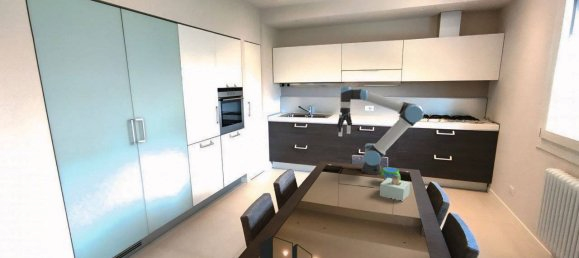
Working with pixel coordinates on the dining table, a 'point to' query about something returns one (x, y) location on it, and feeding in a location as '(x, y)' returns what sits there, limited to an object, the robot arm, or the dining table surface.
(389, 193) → the block
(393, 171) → the snack cup
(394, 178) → the wooden peg
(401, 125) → the robot arm
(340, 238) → the dining table surface
